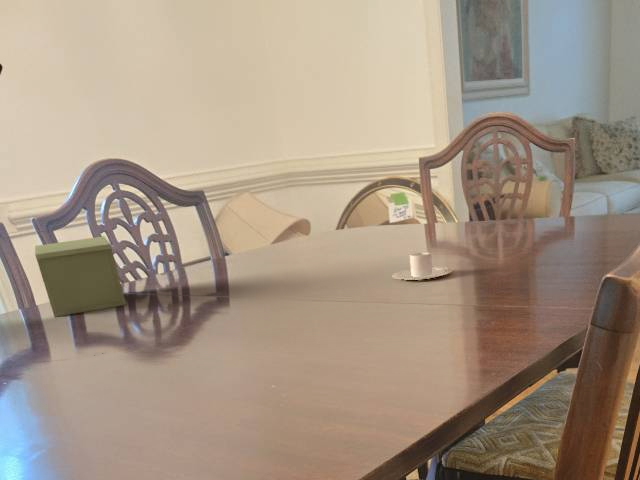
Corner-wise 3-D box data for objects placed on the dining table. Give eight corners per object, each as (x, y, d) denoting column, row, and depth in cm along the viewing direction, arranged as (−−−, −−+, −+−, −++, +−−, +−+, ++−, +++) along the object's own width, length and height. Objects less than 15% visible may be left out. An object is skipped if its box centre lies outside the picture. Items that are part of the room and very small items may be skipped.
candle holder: (412, 270, 159) (410, 248, 157) (463, 271, 154) (462, 248, 151) (380, 282, 151) (378, 259, 149) (433, 283, 145) (432, 259, 143)
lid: (111, 248, 149) (110, 243, 149) (36, 259, 145) (35, 254, 144) (105, 240, 163) (104, 236, 162) (36, 250, 158) (34, 245, 158)
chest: (126, 305, 155) (111, 248, 150) (54, 316, 151) (36, 258, 146) (119, 293, 168) (105, 240, 163) (52, 304, 164) (36, 250, 159)
